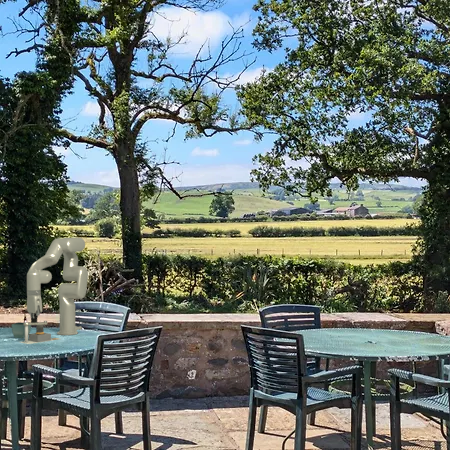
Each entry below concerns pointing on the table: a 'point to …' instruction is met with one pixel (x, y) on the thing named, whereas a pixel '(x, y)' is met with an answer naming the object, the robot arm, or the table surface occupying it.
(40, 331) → the plug
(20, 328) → the flower pot
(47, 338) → the socket plate
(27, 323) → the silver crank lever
